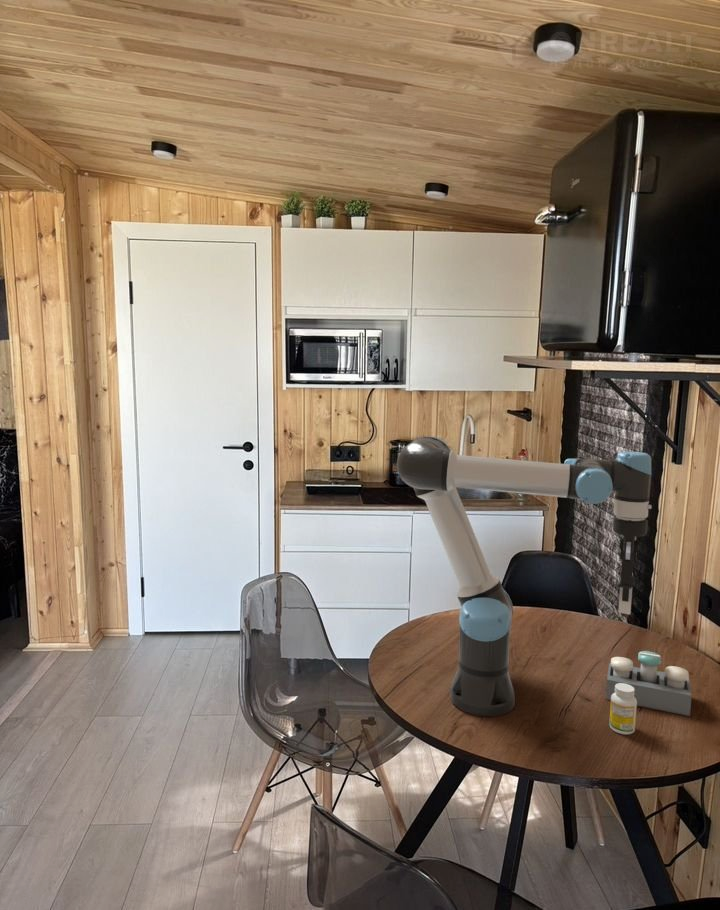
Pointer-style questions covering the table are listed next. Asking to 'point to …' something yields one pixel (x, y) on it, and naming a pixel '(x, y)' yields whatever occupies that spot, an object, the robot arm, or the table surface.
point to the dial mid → (649, 666)
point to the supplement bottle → (623, 709)
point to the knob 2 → (676, 676)
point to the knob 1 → (621, 667)
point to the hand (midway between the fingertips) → (624, 612)
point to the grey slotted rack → (653, 692)
